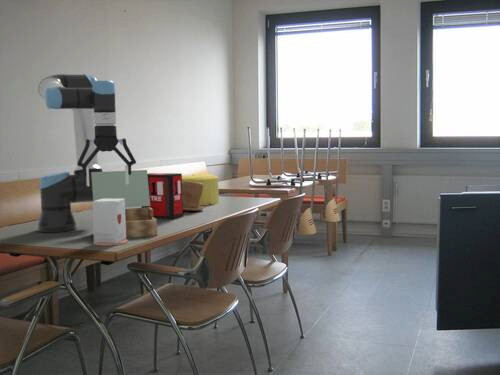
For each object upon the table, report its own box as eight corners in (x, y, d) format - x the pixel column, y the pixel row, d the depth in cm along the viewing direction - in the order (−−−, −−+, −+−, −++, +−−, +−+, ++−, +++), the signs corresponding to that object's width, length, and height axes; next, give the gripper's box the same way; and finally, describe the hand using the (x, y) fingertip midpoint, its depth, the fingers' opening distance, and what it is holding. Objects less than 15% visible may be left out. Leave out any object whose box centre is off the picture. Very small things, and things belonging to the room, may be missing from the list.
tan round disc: (94, 247, 203) (94, 245, 202) (92, 241, 214) (92, 239, 214) (129, 244, 206) (129, 242, 206) (125, 238, 218) (125, 236, 218)
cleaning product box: (183, 216, 270) (181, 173, 268) (173, 219, 261) (172, 175, 259) (151, 215, 276) (150, 173, 274) (141, 218, 267) (140, 174, 265)
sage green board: (91, 172, 232) (91, 172, 233) (93, 209, 229) (93, 209, 229) (146, 169, 239) (146, 170, 240) (150, 205, 236) (150, 205, 236)
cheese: (178, 200, 335) (177, 174, 333) (222, 200, 331) (222, 173, 330) (165, 206, 309) (164, 178, 308) (213, 206, 305) (212, 177, 304)
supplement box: (117, 243, 205) (115, 201, 203) (93, 243, 206) (91, 201, 205) (127, 238, 214) (125, 198, 212) (104, 238, 215) (102, 198, 214)
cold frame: (97, 240, 215) (96, 215, 215) (95, 233, 230) (94, 210, 229) (157, 235, 222) (156, 212, 221) (151, 229, 237) (150, 207, 236)
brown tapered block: (208, 209, 291) (207, 179, 290) (197, 213, 280) (196, 182, 279) (181, 208, 297) (180, 179, 295) (169, 212, 286) (168, 181, 284)
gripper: (68, 125, 198) (71, 187, 201) (142, 124, 206) (144, 184, 209) (68, 125, 206) (71, 185, 208) (139, 124, 213) (141, 182, 216)
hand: (107, 185), depth 208 cm, fingers open, 13 cm apart
